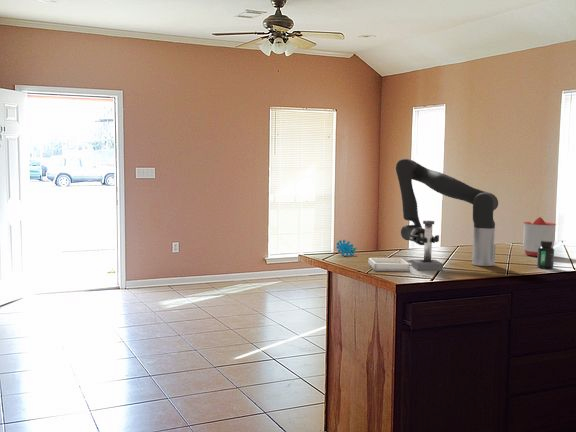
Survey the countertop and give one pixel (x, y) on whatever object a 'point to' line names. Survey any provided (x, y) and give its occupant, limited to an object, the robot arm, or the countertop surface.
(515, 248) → the countertop surface
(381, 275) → the countertop surface
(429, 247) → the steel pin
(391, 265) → the tray
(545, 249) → the supplement bottle
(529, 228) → the citrus juicer
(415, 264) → the block
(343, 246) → the gear
